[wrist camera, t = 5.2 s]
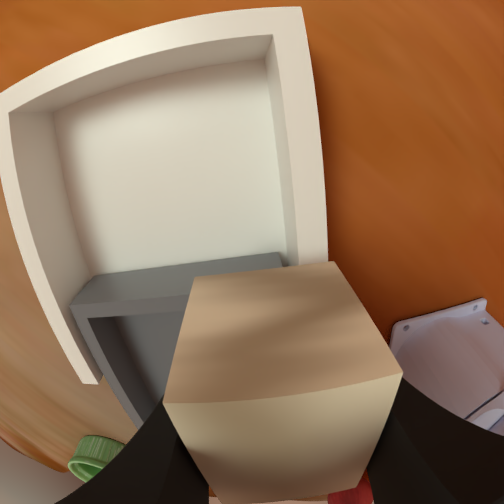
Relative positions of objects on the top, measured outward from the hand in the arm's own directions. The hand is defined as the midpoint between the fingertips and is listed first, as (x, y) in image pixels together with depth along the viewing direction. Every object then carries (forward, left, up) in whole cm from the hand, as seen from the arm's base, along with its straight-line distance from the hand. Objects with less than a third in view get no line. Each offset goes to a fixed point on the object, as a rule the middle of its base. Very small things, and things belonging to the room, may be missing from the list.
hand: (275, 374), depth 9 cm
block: (0, 0, -2) cm, 2 cm away
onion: (-8, +32, -9) cm, 34 cm away
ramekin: (+19, +22, -9) cm, 30 cm away
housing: (+4, -3, -8) cm, 10 cm away
